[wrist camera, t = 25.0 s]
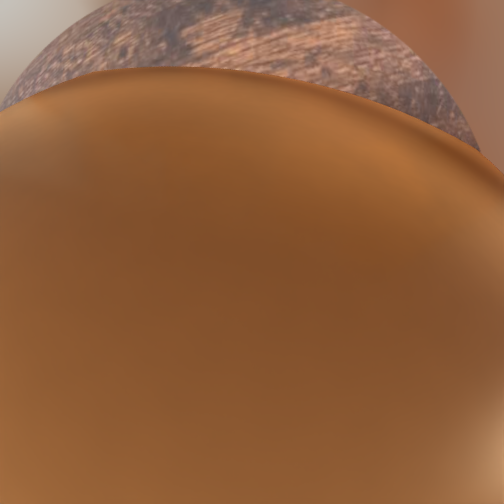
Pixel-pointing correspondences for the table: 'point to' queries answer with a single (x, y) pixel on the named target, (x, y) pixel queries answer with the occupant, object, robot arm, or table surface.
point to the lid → (245, 297)
